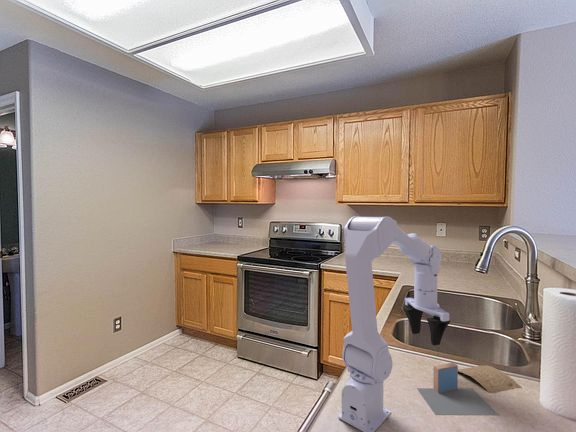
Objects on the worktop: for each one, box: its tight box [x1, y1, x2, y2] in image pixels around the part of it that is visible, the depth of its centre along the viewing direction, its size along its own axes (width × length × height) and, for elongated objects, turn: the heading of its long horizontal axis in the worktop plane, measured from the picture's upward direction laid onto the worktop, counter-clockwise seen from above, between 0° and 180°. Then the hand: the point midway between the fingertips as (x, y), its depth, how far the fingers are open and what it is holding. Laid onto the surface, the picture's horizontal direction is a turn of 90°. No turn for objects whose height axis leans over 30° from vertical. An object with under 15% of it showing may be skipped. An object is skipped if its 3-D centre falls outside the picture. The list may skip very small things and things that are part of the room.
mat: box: [416, 387, 500, 416], centre depth 72 cm, size 14×10×1 cm
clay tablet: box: [458, 365, 522, 394], centre depth 82 cm, size 14×10×3 cm
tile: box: [433, 362, 459, 393], centre depth 77 cm, size 6×2×6 cm, turn 106°
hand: (425, 338), depth 83 cm, fingers open, 7 cm apart
